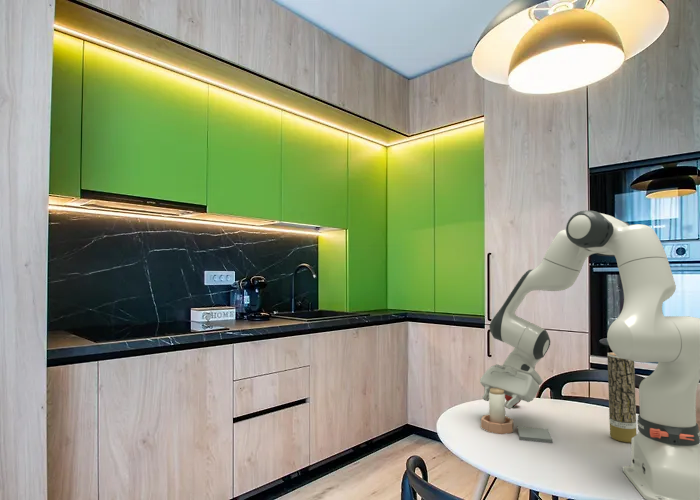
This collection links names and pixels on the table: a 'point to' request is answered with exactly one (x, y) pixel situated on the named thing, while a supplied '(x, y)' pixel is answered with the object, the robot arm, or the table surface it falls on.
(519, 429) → the slate coaster
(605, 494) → the table surface
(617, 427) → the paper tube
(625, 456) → the table surface
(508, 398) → the onion
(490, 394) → the spice jar
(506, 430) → the terracotta dish
